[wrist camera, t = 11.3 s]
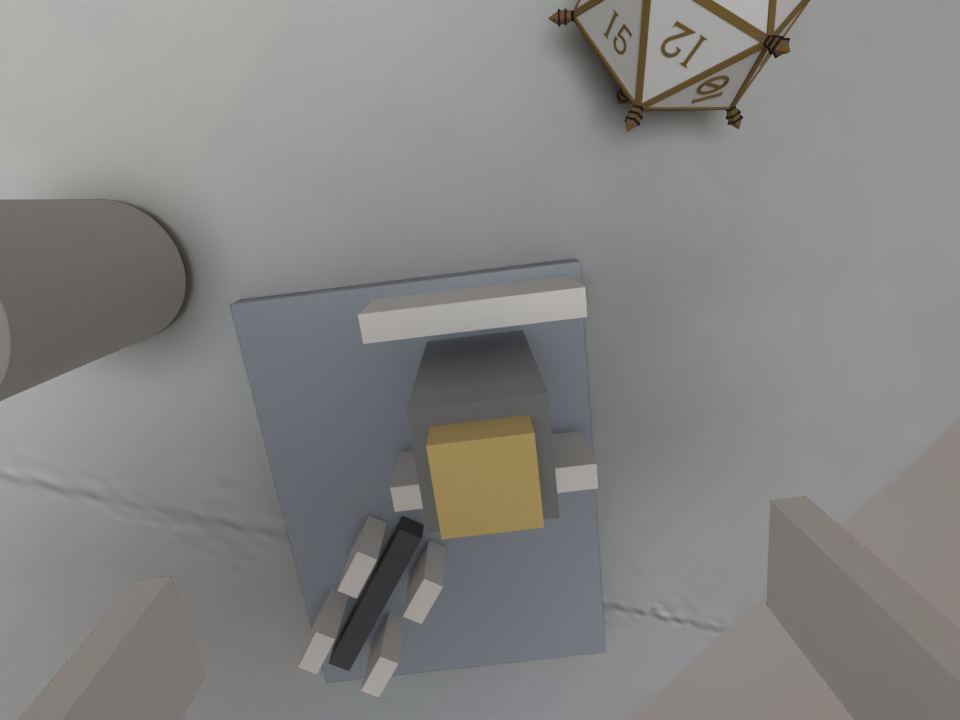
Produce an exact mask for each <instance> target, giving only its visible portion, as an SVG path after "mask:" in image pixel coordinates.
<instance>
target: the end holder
mask: <svg viewBox="0 0 960 720" xmlns="http://www.w3.org/2000/svg"><path fill="white" fill-rule="evenodd" d="M583 317H587V304H586V288H585V286H583V285H582V284H581V283H579V282H578V281H577V280H576V279H574V278H573V277H572V276H570V275H566V276H558V277H550V278H542V279H533V280H525V281H517V282H509V283H501V284H493V285H484V286H476V287H468V288H460V289H452V290H443V291H435V292H427V293H419V294H411V295H402V296H394V297H386V298H378V299H373V300H372V301H371V302H370V303H369V304H368V305H367V306H366V307H365V308H364V309H363V310H362V311H361V312H360V313H359V314H358V319H359V324H360V329H361V335H362V340H363V344H367V343H375V342H384V341H392V340H400V339H409V338H417V337H425V336H433V335H442V334H450V333H458V332H467V331H475V330H483V329H491V328H500V327H508V326H516V325H525V324H533V323H541V322H549V321H558V320H566V319H574V318H583ZM552 440H553V451H554V462H555V472H556V483H557V493H563V492H571V491H580V490H589V489H597V488H598V475H597V463H596V461H595V459H594V457H593V455H592V453H591V451H590V449H589V446H588V444H587V442H586V440H585V438H584V436H583V434H582V432H581V431H573V432H565V433H556V434H552ZM390 489H391V495H392V500H393V505H394V511H395V512H398V511H406V510H415V509H423V505H422V500H421V494H420V488H419V482H418V476H417V471H416V465H415V459H414V453H413V450H411V451H402V452H400V454H399V458H398V461H397V465H396V469H395V472H394V476H393V479H392V483H391V487H390Z"/></svg>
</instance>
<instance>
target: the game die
mask: <svg viewBox="0 0 960 720" xmlns="http://www.w3.org/2000/svg"><path fill="white" fill-rule="evenodd" d="M809 1H810V0H578V2H577V4H576V6H575V8H574V10H573V11H569V10H566V9H565V10H560V9H558V11H557V12H556V13H555V14H553V15H552V16H551V17H549V18H548V19H550V20H551V21H553V22H554V23H556V24H558V25H559V27H560V25H562V24H565V25H567V23H569V22H571V21H573V22H575V24H576V25H577V27H578V28H579V30H580V31H581V32H582V34H583V35H584V37H585V38H586V40H587V41H588V42H589V44H590V45H591V47H592V48H593V50H594V51H595V52H596V54H597V55H598V57H599V58H600V59H601V61H602V62H603V64H604V65H605V67H606V68H607V69H608V71H609V72H610V74H611V75H612V77H613V78H614V79H615V81H616V82H617V84H618V85H619V87H620V92H617V99H618V104H619V103H625V102H626V101H627V100H628V99H629V101H630V102H631V104H632V105H633V107H634V108H633V109H632V110H630V111H629V114H628V116H626V119H625V122H626V126H627V132H628V131H629V130H631V129H632V128H634V127H635V126H639V125H640V123H639V122H640V119H642V118H643V117H642V111H672V110H726V111H727V117H726V119H728V123H727V124H728V125H729V124H730V125H732V126H734V127H736V128H738V129H739V127H740V123H741V120H742V118H743V116H741V115H740V113H741V112H740V110H737V108H736V106H735V105H736V104H737V103H738V101H739V100H740V98H741V97H742V96H743V94H744V93H745V91H746V90H747V89H748V87H749V86H750V84H751V83H752V82H753V80H754V79H755V77H756V76H757V74H758V73H759V72H760V70H761V69H762V67H763V66H764V65H765V63H766V62H767V60H768V59H769V58H770V56H771V55H772V54H773V55H774V57H775V58H777V57H778V56H780V55H782V54H785V53H788V52H790V49H789V40H790V38H784V36H785V35H786V34H787V32H788V31H789V29H790V28H791V27H792V25H793V24H794V22H795V21H796V20H797V18H798V17H799V15H800V14H801V13H802V11H803V10H804V8H805V7H806V6H807V4H808V3H809Z"/></svg>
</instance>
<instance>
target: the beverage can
mask: <svg viewBox="0 0 960 720" xmlns="http://www.w3.org/2000/svg"><path fill="white" fill-rule="evenodd" d="M185 289H186V276H185V269H184V265H183V262H182V259H181V257H180V254H179V251H178V249H177V247H176V245H175V244H174V242H173V241H172V239H171V238H170V236H169V235H168V234H167V232H166V231H165V230H164V229H163V228H162V227H161V226H160V225H159V224H158V223H157V222H156V221H155V220H153V219H152V218H151V217H150V216H148V215H147V214H145V213H143V212H142V211H140V210H138V209H137V208H134V207H132V206H130V205H127V204H124V203H121V202H117V201H112V200H103V199H46V200H0V401H1V400H4V399H6V398H8V397H11V396H13V395H15V394H18V393H20V392H22V391H25V390H27V389H29V388H31V387H34V386H36V385H38V384H41V383H43V382H45V381H48V380H50V379H52V378H55V377H57V376H59V375H62V374H64V373H66V372H69V371H71V370H73V369H76V368H78V367H80V366H83V365H85V364H87V363H90V362H92V361H94V360H97V359H99V358H101V357H104V356H106V355H108V354H111V353H113V352H115V351H118V350H120V349H122V348H125V347H127V346H129V345H131V344H134V343H136V342H138V341H141V340H143V339H145V338H148V337H150V336H152V335H154V334H156V333H158V332H160V331H161V330H163V329H164V328H165V327H166V326H168V325H169V324H170V323H171V322H172V320H173V319H174V318H175V317H176V315H177V313H178V312H179V310H180V308H181V306H182V303H183V300H184V296H185Z"/></svg>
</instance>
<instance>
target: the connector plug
mask: <svg viewBox="0 0 960 720" xmlns="http://www.w3.org/2000/svg"><path fill="white" fill-rule="evenodd" d="M406 413H407V419H408V425H409V430H410V436H411V442H412V448H413V453H414V459H415V465H416V471H417V476H418V482H419V488H420V494H421V500H422V505H423V511H424V517H425V523H426V528H427V533H434V532H440V533H441V539H450V538H459V537H467V536H476V535H484V534H493V533H501V532H510V531H519V530H527V529H536V528H544V520H545V519H554V518H560V516H559V505H558V494H557V483H556V472H555V462H554V451H553V440H552V429H551V418H550V407H549V396H548V391H547V389H546V386H545V384H544V381H543V379H542V376H541V374H540V372H539V369H538V367H537V364H536V362H535V359H534V357H533V354H532V352H531V349H530V347H529V344H528V342H527V339H526V337H525V334H524V332H523V330H518V331H510V332H502V333H493V334H485V335H477V336H469V337H461V338H453V339H445V340H437V341H429V342H427V343H426V346H425V350H424V353H423V356H422V360H421V363H420V366H419V369H418V373H417V376H416V379H415V383H414V386H413V389H412V392H411V396H410V399H409V402H408V405H407V409H406Z"/></svg>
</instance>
